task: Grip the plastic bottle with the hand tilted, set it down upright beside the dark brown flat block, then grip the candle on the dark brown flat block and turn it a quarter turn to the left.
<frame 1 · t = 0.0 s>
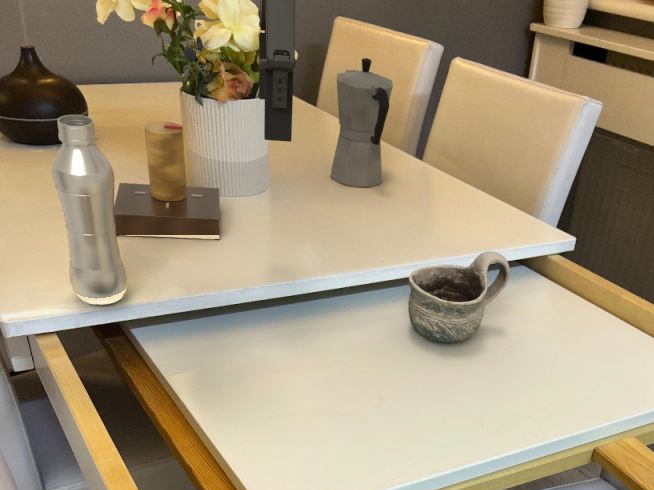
hand: (274, 118, 85), 21 cm above the table, tool pointing down, fingers open, 13 cm apart
coffeepot: (358, 181, 132), on the table
mug: (449, 332, 98), on the table
dark brown flat block: (169, 221, 111), on the table
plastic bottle: (101, 299, 94), on the table
candle: (166, 160, 108), point 8 cm above the table, hinge at 0.0°
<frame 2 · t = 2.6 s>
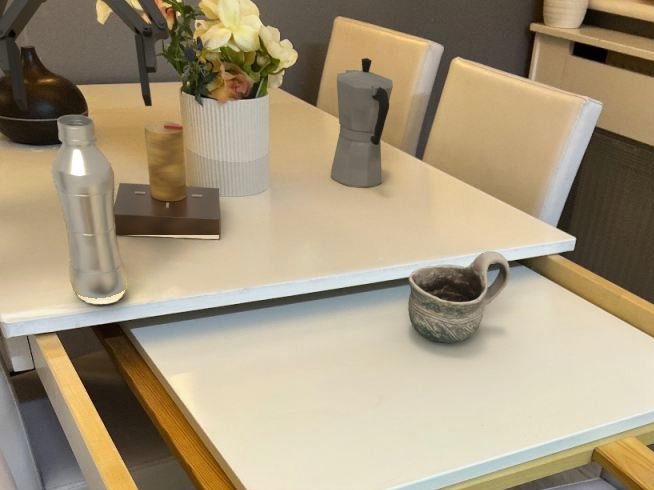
hand: (84, 103, 88), 19 cm above the table, tool tilted 40°, fingers open, 13 cm apart
nothing on the table moved.
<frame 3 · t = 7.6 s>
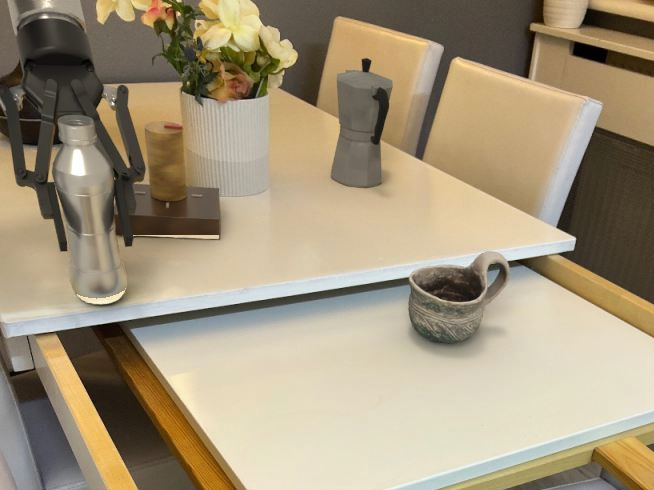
hand: (97, 244, 86), 8 cm above the table, tool tilted 45°, fingers closed on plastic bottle, 6 cm apart
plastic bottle: (101, 299, 94), on the table, touching gripper
everything else where it was.
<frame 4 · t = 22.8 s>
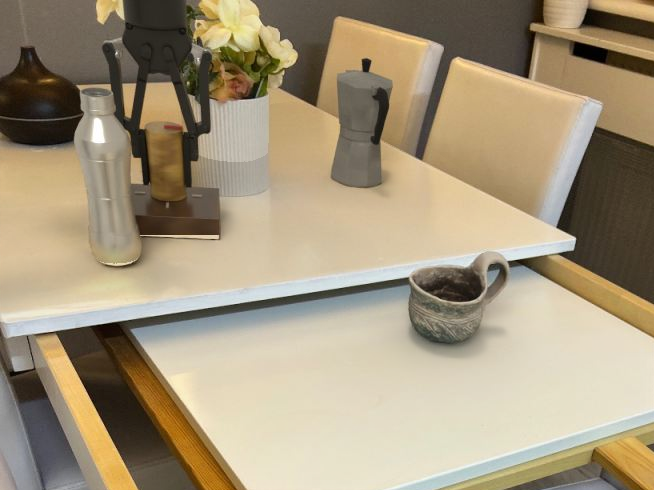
hand: (167, 182, 110), 5 cm above the table, tool pointing down, fingers closed on candle, 5 cm apart
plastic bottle: (117, 262, 101), on the table
candle: (166, 160, 108), point 8 cm above the table, hinge at 0.0°, touching gripper
everything else where it was.
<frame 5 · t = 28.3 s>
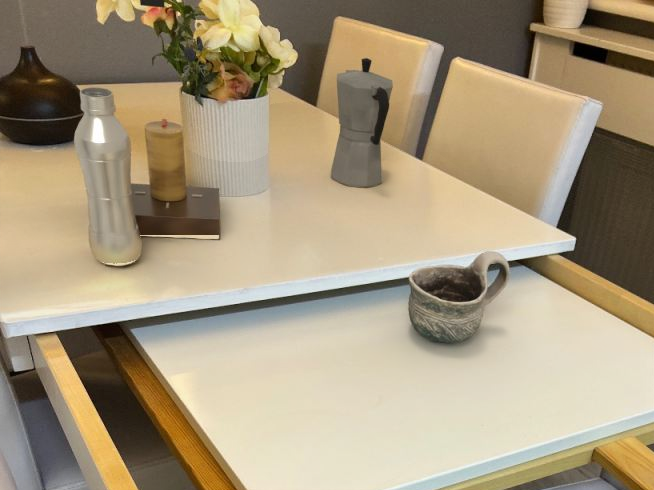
candle: (166, 160, 108), point 8 cm above the table, hinge at 90.1°
everything else where it was.
at the end: candle at +90° (first picture: +0°); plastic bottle inside the target area on the table beside the dark brown flat block (0.0 cm from its centre), on the table; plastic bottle tilted 0° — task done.
